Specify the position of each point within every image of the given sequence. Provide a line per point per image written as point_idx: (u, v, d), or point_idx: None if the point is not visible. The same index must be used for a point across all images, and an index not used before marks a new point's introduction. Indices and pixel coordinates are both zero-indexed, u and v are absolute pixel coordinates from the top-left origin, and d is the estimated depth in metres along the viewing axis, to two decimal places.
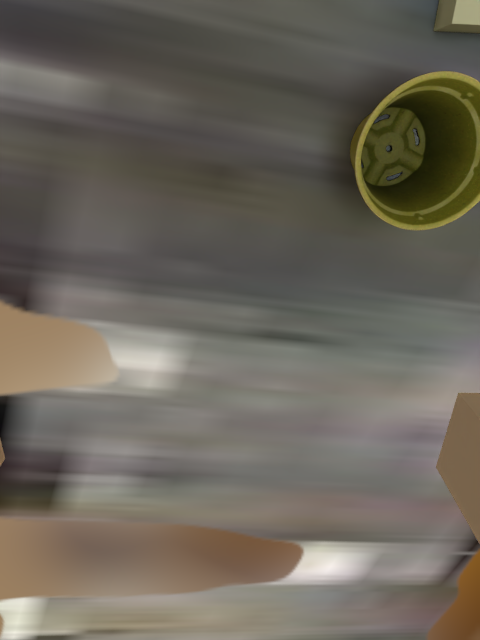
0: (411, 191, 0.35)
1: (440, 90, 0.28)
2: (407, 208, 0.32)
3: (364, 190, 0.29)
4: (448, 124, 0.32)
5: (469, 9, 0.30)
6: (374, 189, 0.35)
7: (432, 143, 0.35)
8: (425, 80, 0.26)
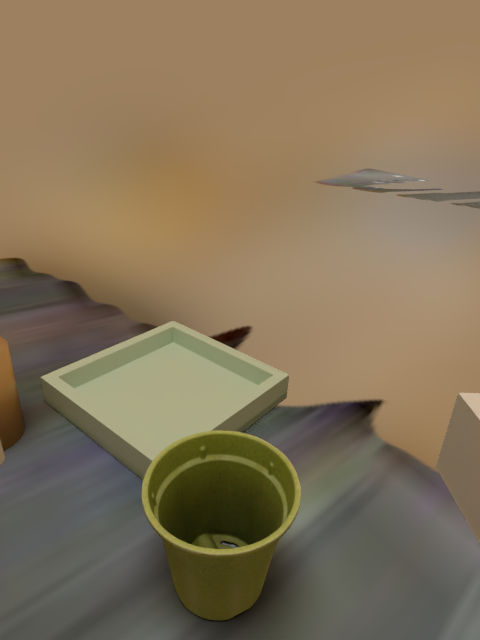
0: None
1: (185, 469, 0.30)
2: (271, 546, 0.26)
3: (204, 548, 0.23)
4: (227, 494, 0.32)
5: None
6: None
7: (242, 529, 0.32)
8: (159, 460, 0.28)
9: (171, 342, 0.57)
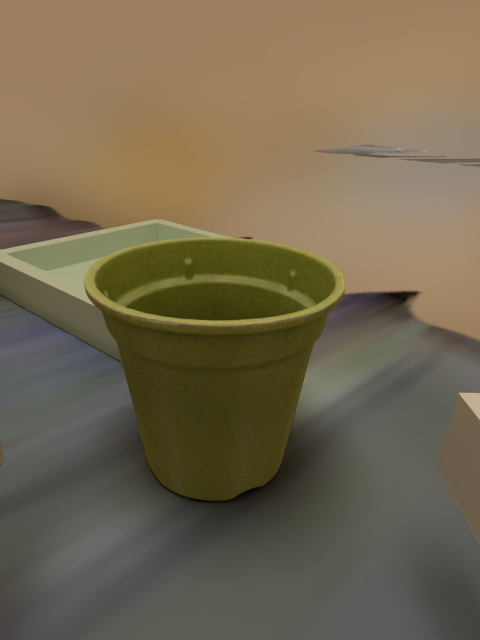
0: None
1: (162, 288, 0.20)
2: None
3: (185, 319, 0.12)
4: None
5: None
6: None
7: None
8: (120, 255, 0.18)
9: None
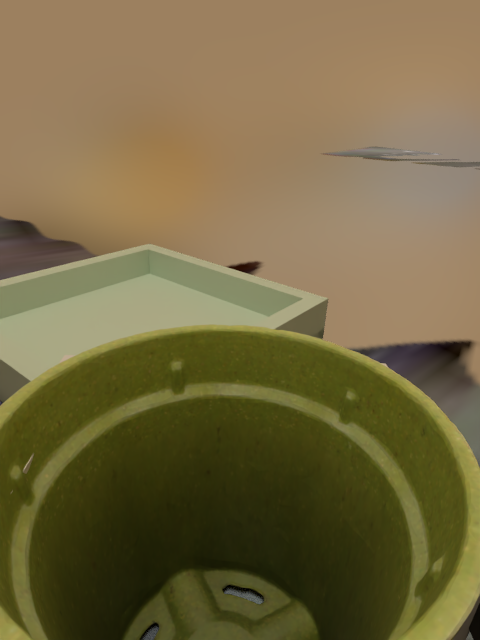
0: None
1: (133, 414, 0.12)
2: (390, 629, 0.08)
3: None
4: (236, 480, 0.14)
5: None
6: None
7: (272, 558, 0.14)
8: (53, 379, 0.10)
9: (146, 273, 0.39)
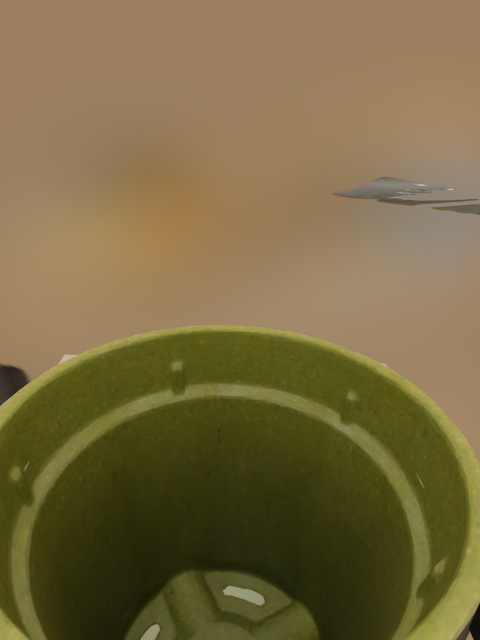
0: None
1: (133, 415, 0.12)
2: (391, 630, 0.08)
3: None
4: (237, 480, 0.14)
5: None
6: None
7: (273, 559, 0.14)
8: (53, 379, 0.10)
9: None
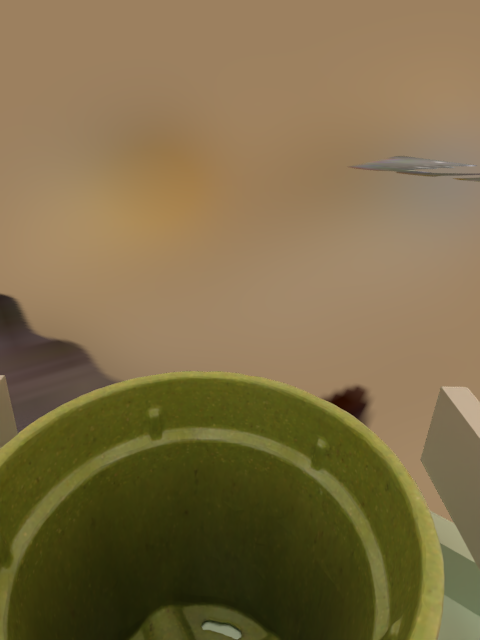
0: None
1: (111, 462, 0.12)
2: None
3: None
4: (214, 519, 0.14)
5: None
6: None
7: (249, 593, 0.15)
8: (31, 437, 0.10)
9: None
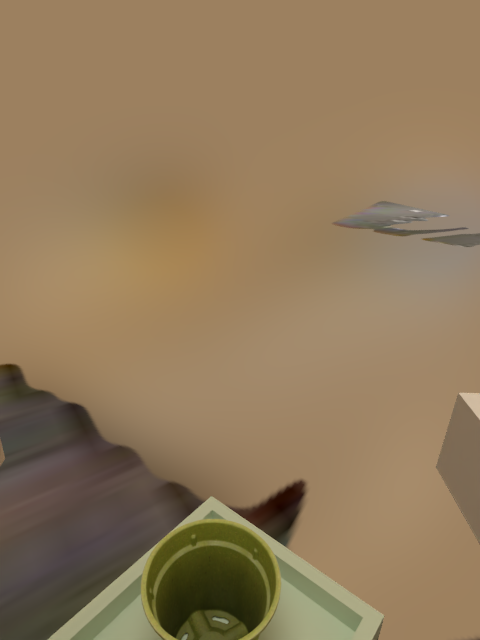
0: None
1: (178, 557, 0.33)
2: None
3: None
4: (216, 575, 0.35)
5: None
6: None
7: (232, 605, 0.36)
8: (155, 554, 0.31)
9: None
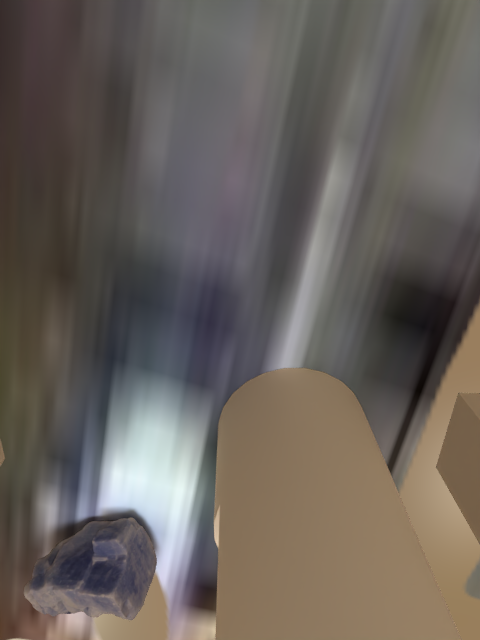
0: None
1: None
2: None
3: None
4: None
5: None
6: None
7: None
8: None
9: None
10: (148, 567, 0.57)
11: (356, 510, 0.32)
